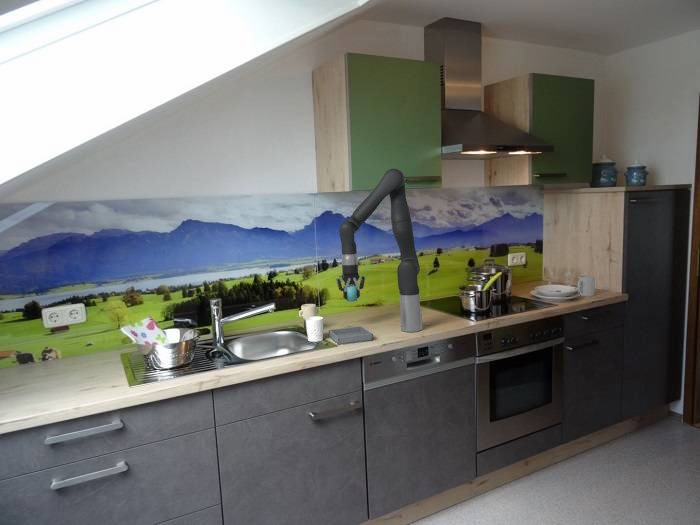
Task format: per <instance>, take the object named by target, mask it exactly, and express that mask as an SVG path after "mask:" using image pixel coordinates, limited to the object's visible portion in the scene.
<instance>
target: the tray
mask: <svg viewBox="0 0 700 525" xmlns="http://www.w3.org/2000/svg"><path fill="white" fill-rule="evenodd" d="M328 337H329V339H331V340H332V341H333V342H335V344H336V343H337V344H336V345H337V346H341V344H343V345H348V344H349V345H350V344H356V343H364V342H372V341H374V333H372V332H371V331H369V329H367V328H365V327H364V326H362V325H359V326H351V327H344V328H335V329H328Z"/></svg>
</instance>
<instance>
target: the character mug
mask: <svg viewBox="0 0 700 525" xmlns="http://www.w3.org/2000/svg"><path fill="white" fill-rule="evenodd" d="M300 307H301V308H300V309H301V310H299V311H298V316H299V318H302V319H303V320H304V321H303V332H306V333H307V329H306V318H308V317H314V316H317V315H319V314H320V313H319V312H320V310H319V306H316V304H315V303H306V304H302V305H301V306H300Z"/></svg>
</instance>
